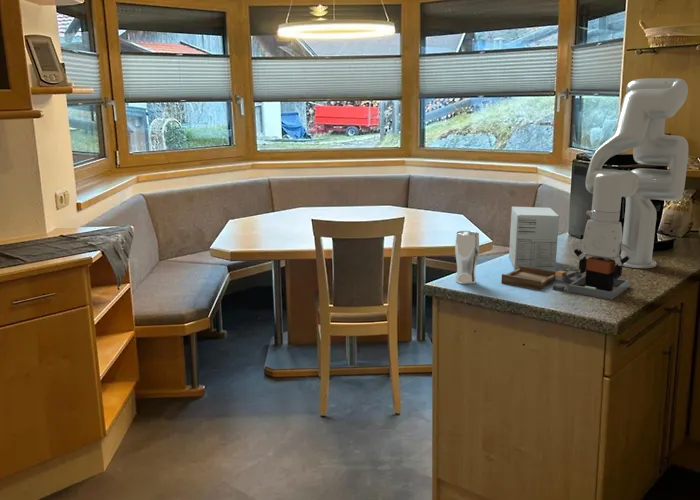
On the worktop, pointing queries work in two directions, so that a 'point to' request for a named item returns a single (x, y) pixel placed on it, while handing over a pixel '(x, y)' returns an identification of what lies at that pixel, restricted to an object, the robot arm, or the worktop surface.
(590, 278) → the battery
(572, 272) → the release key
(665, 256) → the worktop surface
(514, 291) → the worktop surface
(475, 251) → the beer glass
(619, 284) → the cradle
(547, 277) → the wooden tray
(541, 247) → the supplement box
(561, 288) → the key mount
